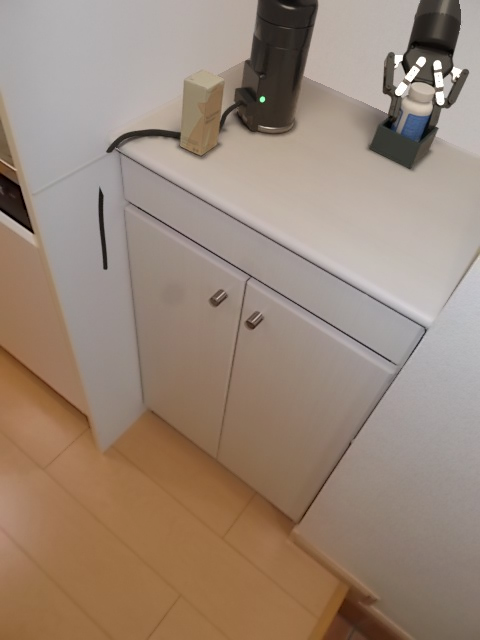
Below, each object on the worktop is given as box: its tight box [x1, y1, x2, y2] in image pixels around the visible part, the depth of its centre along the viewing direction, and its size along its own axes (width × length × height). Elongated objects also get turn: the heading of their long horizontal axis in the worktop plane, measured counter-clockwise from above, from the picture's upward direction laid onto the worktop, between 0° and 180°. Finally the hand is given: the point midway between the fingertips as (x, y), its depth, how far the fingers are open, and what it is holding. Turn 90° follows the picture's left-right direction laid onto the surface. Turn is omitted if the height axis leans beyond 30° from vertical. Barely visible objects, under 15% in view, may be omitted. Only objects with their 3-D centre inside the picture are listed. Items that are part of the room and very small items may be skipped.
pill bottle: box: [391, 82, 435, 142], centre depth 88 cm, size 6×5×10 cm
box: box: [179, 69, 226, 156], centre depth 82 cm, size 5×4×11 cm
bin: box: [369, 117, 440, 169], centre depth 91 cm, size 8×8×5 cm
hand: (410, 125), depth 88 cm, fingers closed on pill bottle, 5 cm apart
